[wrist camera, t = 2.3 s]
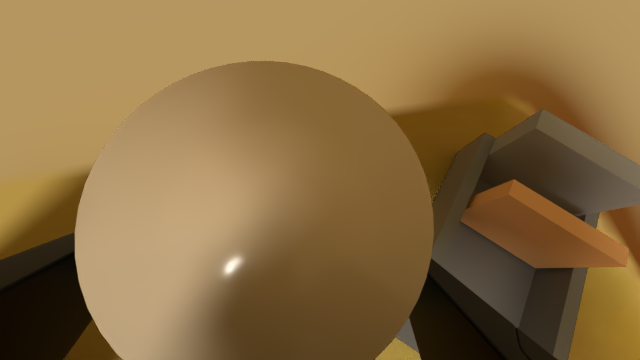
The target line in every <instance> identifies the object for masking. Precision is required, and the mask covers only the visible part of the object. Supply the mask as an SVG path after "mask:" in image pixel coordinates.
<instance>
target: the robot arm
mask: <svg viewBox="0 0 640 360" xmlns="http://www.w3.org/2000/svg"><path fill="white" fill-rule="evenodd" d="M92 319H93V318H92V316H91V314H90V312H89V310H88V308H87V305H86V302H85V299H84V296H83V293H82V290H81V287H80V284H79V279H78V273H77V267H76V260H75V232H74V233H72V234H69V235H66V236H64V237H61V238H58V239H56V240H53V241H50V242H48V243H45V244H42V245H40V246H37V247H34V248H31V249H29V250H26V251H23V252H21V253H18V254H15V255H13V256H10V257H7V258H5V259H2V260H0V360H63V359H64V358H65V357H66V355H67V354H68V352H69V351H70V350H71V348H72V347H73V346H74V344H75V343H76V341H77V340H78V339H79V337H80V336H81V334H82V333H83V332H84V330H85V329H86V327H87V326H88V325H89V323H90V322H91V320H92ZM409 319H410V323H411V326H412V330H413V333H414V336H415V340H416V343H417V347H418V350H419V354H420V357H421V360H558V359H557V358H555V357H554V356H553V355H551V354H550V353H549V352H547V351H546V350H545V349H544V348H542V347H541V346H540V345H539V344H537V343H536V342H535V341H533V340H532V339H531V338H530V337H528V336H527V335H526V334H525V333H524V332H522V331H521V330H520V329H519V328H517V327H516V328H515V325H514V324H512V323H511V322H510V321H509V320H507V319H506V318H505V317H504V316H502V315H501V314H500V313H499V312H497V311H496V310H495V309H494V308H492V307H491V306H490V305H489V304H488V303H486V302H485V301H484V300H483V299H481V298H480V297H479V296H478V295H476V294H475V293H474V292H473V291H471V290H470V289H469V288H468V287H466V286H465V285H464V284H463V283H462V282H460V281H459V280H458V279H457V278H455V277H454V276H453V275H452V274H450V273H449V272H448V271H447V270H445V269H444V268H443V267H442V266H440V265H439V264H438V263H437V262H436V261H434V260H433V259H432V258H431V260H430V264H429V269H428V273H427V277H426V280H425V283H424V285H423V288H422V291H421V293H420V296H419V299H418V301H417V303H416V305H415V306H414V308H413V310H412V312H411V314H410V316H409Z"/></svg>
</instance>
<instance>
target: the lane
mask: <svg viewBox="0 0 640 360" xmlns="http://www.w3.org/2000/svg"><path fill="white" fill-rule="evenodd" d="M513 179H515V180H516V181H518V182H520V183H521V184H523V185H525V186H526V187H528V188H529V189H531V190H533V191H534V192H536V193H538V194H539V195H541V196H543V197H544V198H546V199H548V200H549V201H551V202H552V203H554V204H556V205H557V206H559V207H561V208H562V209H564V210H566V211H567V212H569V213H571V214H572V215H574V216H575V217H577V218H579V219H580V220H582V221H584V222H585V223H587V224H589V225H590V226H592V227H594V228H595V229H596V227H597V223H598V218H599V213H600V212H602V211H607V210H612V209H617V208H623V207H627V206H633V205H638V204H640V165H639V164H637V163H635V162H634V161H632V160H630V159H628V158H627V157H625V156H623V155H621V154H620V153H618V152H616V151H615V150H613V149H611V148H610V147H608V146H606V145H604V144H602V143H601V142H599V141H597V140H596V139H594V138H592V137H591V136H589V135H587V134H585V133H584V132H582V131H580V130H579V129H577V128H575V127H573V126H571V125H570V124H568V123H566V122H565V121H563V120H561V119H559V118H558V117H556V116H554V115H553V114H551V113H549V112H547V111H546V110H544V109H542V110H540V111H539V112H537V113H536V114H534V115H532V116H531V117H529V118H528V119H526V120H525V121H523V122H521V123H520V124H518V125H517V126H515V127H514V128H512V129H510V130H509V131H507V132H506V133H504V134H502V135H501V136H499V137H498V138H496V139H495V138H494V137H492V136H490V135H488V134H487V133H484V134H482V135H481V136H479V137H478V138H477V139H475V140H474V141H472V142H471V143H469V144H468V145H466V146H465V147H464V148H462V149H461V150H459V151H458V152H457V155H456V157H455V159H454V161H453V163H452V165H451V167H450V169H449V171H448V173H447V175H446V177H445V179H444V181H443V183H442V185H441V188H440V190H439V192H438V194H437V196H436V198H435V200H434V202H433V204H432V208H433V223H434V236H433V247H432V256H431V258H432V259H433V260H434V261H436V262H437V263H438V264H439V265H440V266H442V267H443V268H444V269H445V270H447V271H448V272H449V273H450V274H452V275H453V276H454V277H455V278H457V279H458V280H459V281H460V282H462V283H463V284H464V285H465V286H466V287H468V288H469V289H470V290H471V291H473V292H474V293H475V294H476V295H478V296H479V297H480V298H481V299H483V300H484V301H485V302H486V303H488V304H489V305H490V306H491V307H492V308H494V309H495V310H496V311H497V312H499V313H500V314H501V315H502V316H504V317H505V318H506V319H507V320H509V321H510V322H511V323H512V324H514V325H515V328H516V327H517V328H519V329H520V330H521V331H522V332H524V333H525V334H526V335H527V336H528V337H530V338H531V339H532V340H533V341H535V342H536V343H537V344H539V345H540V346H541V347H542V348H544V349H545V350H546V351H547V352H549V353H550V354H551V355H553V356H554V357H555V358H557V359H558V360H568V357H569V352H570V348H571V343H572V338H573V334H574V329H575V325H576V320H577V315H578V311H579V306H580V301H581V297H582V292H583V288H584V283H585V278H586V274H587V269H588V267H581V268H534V267H532V266H531V265H529V264H527V263H526V262H524V261H523V260H521V259H520V258H518V257H516V256H515V255H513V254H512V253H510V252H509V251H507V250H505V249H504V248H502V247H501V246H499V245H497V244H496V243H494V242H493V241H491V240H490V239H488V238H486V237H485V236H483V235H482V234H480V233H479V232H477V231H475V230H474V229H472V228H471V227H469V226H467V225H466V224H464V223H463V222H461V218H462V216H463V214H464V211H465V209H466V207H467V204H468V202H469V200H470V197H472V196H474V195H476V194H479V193H481V192H484V191H486V190H489V189H491V188H494V187H496V186H499V185H501V184H504V183H506V182H509V181H511V180H513ZM395 337H396V338H398V339H399V340H401V341H402V342H404V343H405V344H407V345H408V346H409V347H411V348H412V349H414V350H415V351H417V352H418V353H419V350H418V347H417V343H416V340H415V336H414V333H413V330H412V326H411V323H410V319H409V318H408V319H407V321H406V323H405V324H404V325H403V327H402V328H401V330H400V331H399V332H398V334H397V335H396V336H395Z"/></svg>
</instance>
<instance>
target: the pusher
mask: <svg viewBox="0 0 640 360" xmlns="http://www.w3.org/2000/svg"><path fill="white" fill-rule="evenodd" d="M461 222H463V223H464V224H466V225H467V226H469V227H471V228H472V229H474V230H475V231H477V232H479V233H480V234H482V235H483V236H485V237H486V238H488V239H490V240H491V241H493V242H494V243H496V244H497V245H499V246H501V247H502V248H504V249H505V250H507V251H509V252H510V253H512V254H513V255H515V256H516V257H518V258H520V259H521V260H523V261H524V262H526V263H527V264H529V265H531V266H532V267H534V268H581V267H626V263H627V257H628V251H629V249H628V248H626V247H625V246H623V245H621V244H620V243H618V242H617V241H615V240H613V239H612V238H610V237H608V236H607V235H605V234H603V233H602V232H600V231H598V230H597V229H595V228H594V227H592V226H590V225H589V224H587V223H585V222H584V221H582V220H580V219H579V218H577V217H575V216H574V215H572V214H571V213H569V212H567V211H566V210H564V209H562V208H561V207H559V206H557V205H556V204H554V203H552V202H551V201H549V200H548V199H546V198H544V197H543V196H541V195H539V194H538V193H536V192H534V191H533V190H531V189H529V188H528V187H526V186H525V185H523V184H521V183H520V182H518V181H516V180H515V179H513V180H511V181H509V182H506V183H504V184H501V185H499V186H496V187H494V188H491V189H489V190H486V191H484V192H481V193H479V194H476V195H474V196H472V197H470V200H469V202H468V204H467V207H466V209H465V211H464V214H463V216H462V218H461Z"/></svg>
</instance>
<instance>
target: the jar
mask: <svg viewBox="0 0 640 360" xmlns="http://www.w3.org/2000/svg"><path fill="white" fill-rule="evenodd" d="M433 236H434V223H433V208H432V201H431V195H430V190H429V186H428V183H427V179H426V176H425V172H424V170H423V168H422V165H421V163H420V160H419V158H418V156H417V154H416V152H415V150H414V148H413V147H412V145H411V143H410V141H409V139H408V138H407V136H406V135H405V134H404V132H403V131H402V130H401V128H400V127H399V125H398V124H397V123H396V122H395V121H394V120H393V118H392V117H391V116H390V115H389V114H388V113H387V112H386V111H385V110H384V109H383V108H382V107H381V106H380V105H379V104H377V103H376V102H375V101H374V100H373V99H372V98H370V97H369V96H368V95H366V94H365V93H363V92H362V91H360V90H359V89H357V88H356V87H354V86H353V85H351V84H349V83H347V82H345V81H343V80H342V79H340V78H337V77H335V76H333V75H330V74H328V73H326V72H323V71H320V70H317V69H313V68H310V67H306V66H302V65H297V64H291V63H285V62H273V61H251V62H250V61H249V62H241V63H233V64H227V65H223V66H218V67H215V68H210V69H207V70H204V71H201V72H198V73H196V74H193V75H190V76H188V77H186V78H184V79H182V80H180V81H177V82H175V83H173V84H171V85H170V86H168V87H166V88H165V89H163V90H162V91H160V92H158V93H157V94H155V95H154V96H152V97H151V98H150V99H149V100H147V101H146V102H145V103H143V104H142V105H141V106H140V107H138V108H137V109H136V110H135V111H134V112H133V113H132V114H131V115H130V116H129V117H128V118H127V119H126V120H125V121H124V122H123V123H122V124H121V125H120V126H119V127H118V129H117V130H116V131H115V133H114V134H113V135H112V136H111V138H110V139H109V140H108V141H107V143H106V144H105V146H104V148H103V149H102V151H101V152H100V154H99V156H98V157H97V159H96V161H95V163H94V165H93V167H92V169H91V172H90V174H89V176H88V178H87V181H86V183H85V186H84V189H83V193H82V196H81V200H80V203H79V206H78V213H77V220H76V227H75V260H76V267H77V273H78V279H79V284H80V287H81V290H82V293H83V296H84V299H85V302H86V305H87V308H88V310H89V312H90V314H91V316H92V318H93V320H94V321H95V323H96V325H97V327H98V329H99V331H100V333H101V334H102V335H103V337H104V338H105V339H106V340H107V342H108V343H109V344H110V346H111V347H112V348H113V350H114V351H115V352H116V354H117V355H118V356H120V357H121V358H122V359H123V360H375V359H376V357H377V356H378V355H379V354H380V353H381V352H382V351H383V350H384V349H385V348H386V347H387V346H388V345H389V344H390V343H391V342H392V341H393V339H394V338H395V336H396V335H397V334H398V332H399V331H400V330H401V328H402V327H403V325H404V324H405V323H406V321H407V319H408V318H409V316H410V314H411V312H412V310H413V308H414V306H415V305H416V303H417V301H418V299H419V296H420V293H421V291H422V288H423V285H424V283H425V280H426V277H427V273H428V269H429V264H430V260H431V256H432V247H433Z"/></svg>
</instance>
